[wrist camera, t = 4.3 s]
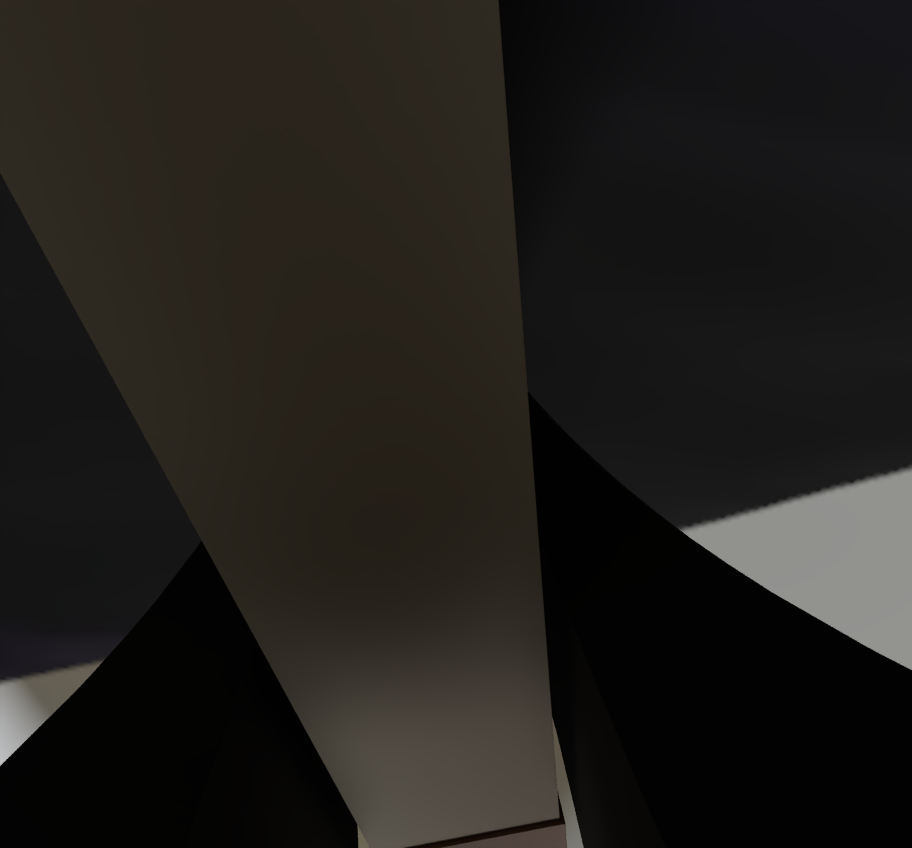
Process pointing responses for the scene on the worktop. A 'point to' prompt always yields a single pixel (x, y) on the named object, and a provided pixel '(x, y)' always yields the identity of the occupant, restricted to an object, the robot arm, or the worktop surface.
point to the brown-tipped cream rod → (320, 359)
